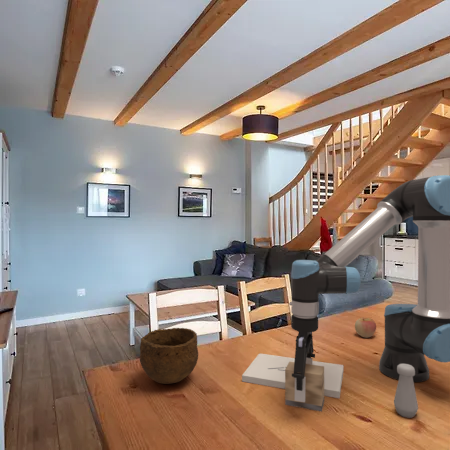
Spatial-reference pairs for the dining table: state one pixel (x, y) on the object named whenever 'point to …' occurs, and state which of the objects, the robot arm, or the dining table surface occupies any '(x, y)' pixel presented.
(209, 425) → the dining table surface
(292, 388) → the block
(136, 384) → the dining table surface
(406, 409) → the salt shaker
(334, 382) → the board
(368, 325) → the apple
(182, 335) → the bowl
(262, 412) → the dining table surface
